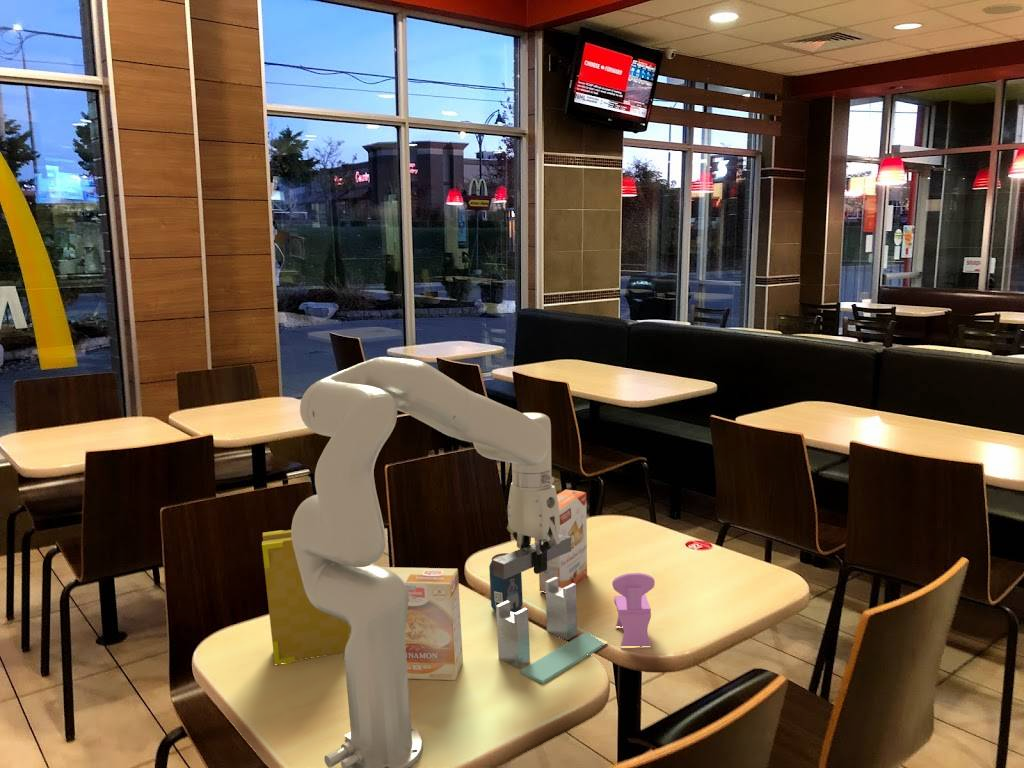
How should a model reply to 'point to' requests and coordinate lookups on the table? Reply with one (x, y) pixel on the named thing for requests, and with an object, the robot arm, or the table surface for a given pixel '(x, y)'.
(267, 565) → the book
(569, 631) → the post far
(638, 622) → the toy chair
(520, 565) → the rail
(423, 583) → the coffeecake box
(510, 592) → the soda can
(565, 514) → the cracker box
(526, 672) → the mat
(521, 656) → the post near arm
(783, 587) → the table surface
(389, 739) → the robot arm
